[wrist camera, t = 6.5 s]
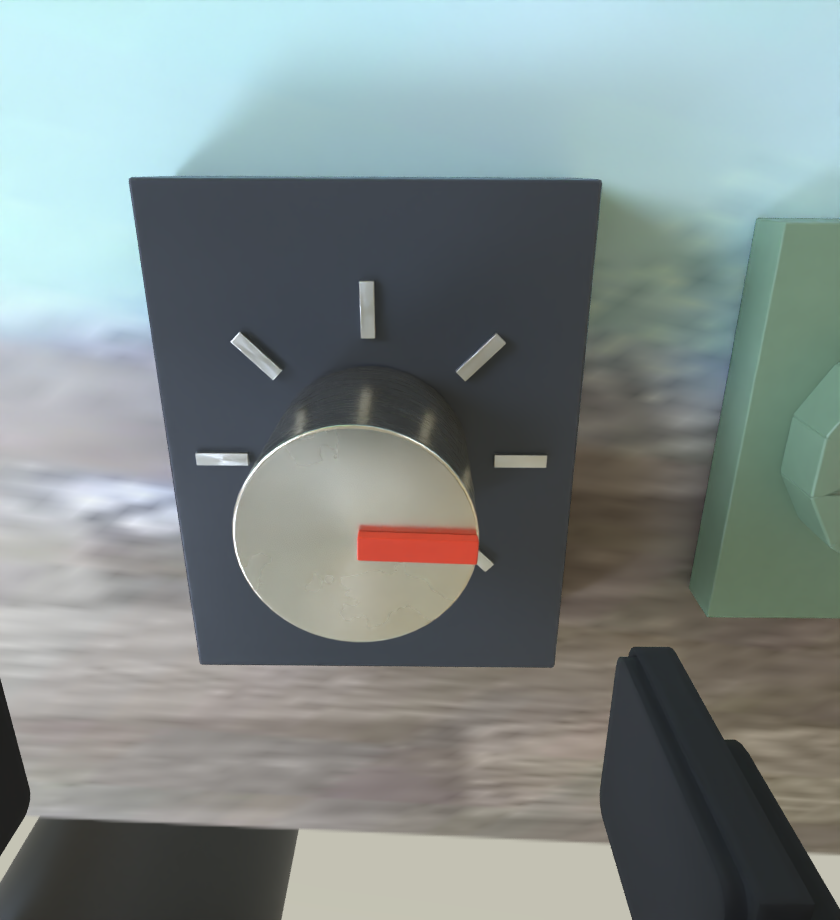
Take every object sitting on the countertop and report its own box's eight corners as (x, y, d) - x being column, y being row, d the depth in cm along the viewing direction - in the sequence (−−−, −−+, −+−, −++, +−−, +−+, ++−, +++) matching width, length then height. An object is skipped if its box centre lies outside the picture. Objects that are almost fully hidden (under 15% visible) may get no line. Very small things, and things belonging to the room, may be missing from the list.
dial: (278, 540, 20) (236, 648, 15) (269, 361, 18) (217, 425, 13) (462, 546, 20) (473, 656, 15) (474, 368, 18) (490, 435, 13)
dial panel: (540, 611, 24) (555, 672, 21) (225, 609, 24) (197, 669, 21) (577, 177, 19) (605, 179, 16) (170, 176, 19) (123, 177, 16)
